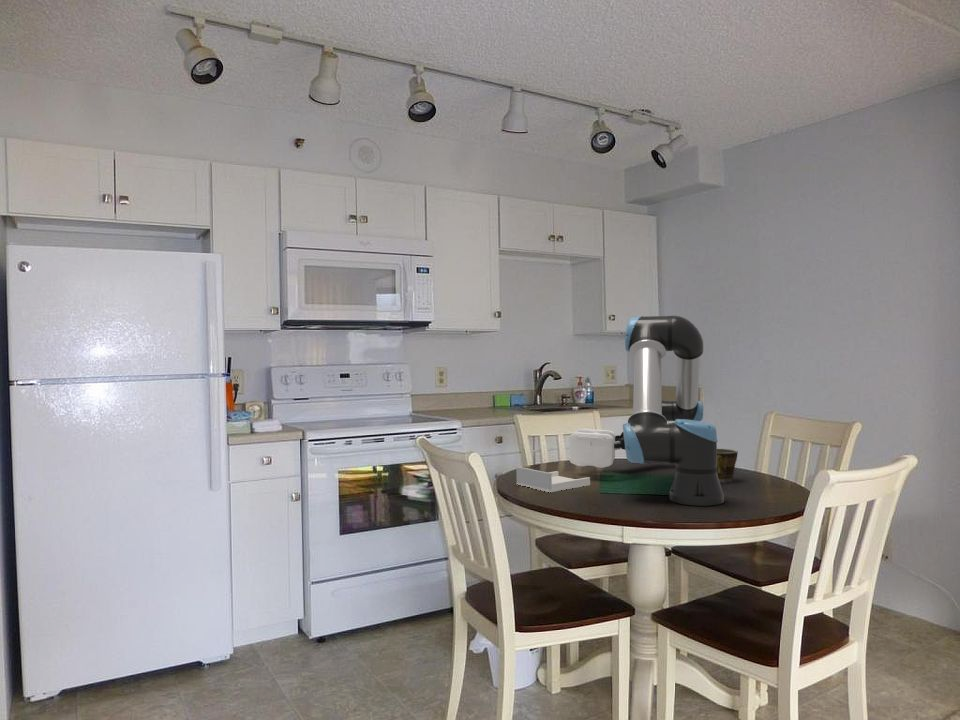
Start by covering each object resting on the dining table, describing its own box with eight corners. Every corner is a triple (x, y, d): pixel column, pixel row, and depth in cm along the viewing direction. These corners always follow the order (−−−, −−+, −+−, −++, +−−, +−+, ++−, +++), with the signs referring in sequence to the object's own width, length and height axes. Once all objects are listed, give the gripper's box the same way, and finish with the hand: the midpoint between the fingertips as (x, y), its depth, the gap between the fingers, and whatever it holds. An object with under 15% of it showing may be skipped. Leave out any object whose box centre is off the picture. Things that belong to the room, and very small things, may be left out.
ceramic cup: (708, 477, 237) (708, 448, 237) (739, 479, 233) (739, 449, 233) (702, 484, 226) (702, 453, 225) (735, 486, 221) (735, 455, 221)
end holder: (590, 485, 226) (589, 467, 226) (549, 492, 216) (549, 473, 216) (556, 478, 239) (556, 461, 239) (516, 485, 228) (516, 467, 228)
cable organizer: (617, 463, 241) (617, 430, 241) (611, 469, 231) (612, 434, 231) (575, 460, 247) (575, 428, 246) (568, 465, 237) (568, 432, 236)
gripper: (661, 453, 242) (619, 459, 229) (609, 446, 261) (567, 452, 248) (661, 432, 241) (619, 437, 229) (608, 427, 261) (567, 431, 248)
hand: (592, 444), depth 238 cm, fingers closed on cable organizer, 12 cm apart
